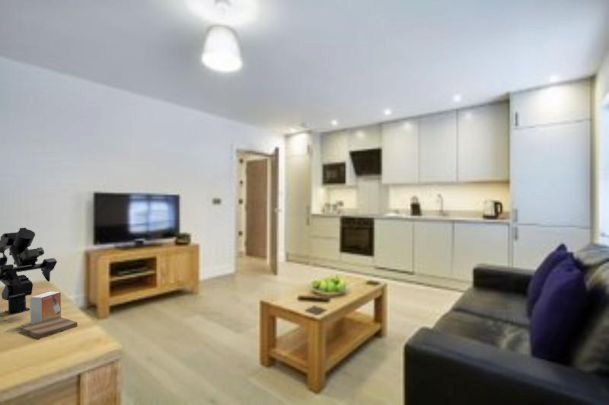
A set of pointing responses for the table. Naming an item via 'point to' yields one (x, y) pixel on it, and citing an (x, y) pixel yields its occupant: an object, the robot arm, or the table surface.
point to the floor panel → (48, 327)
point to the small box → (45, 306)
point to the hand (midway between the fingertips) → (35, 283)
